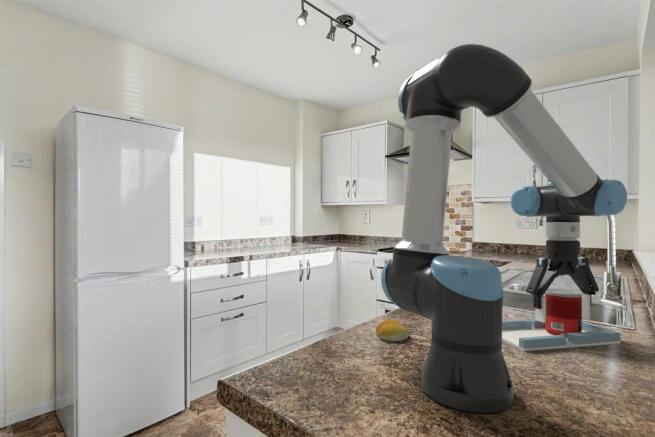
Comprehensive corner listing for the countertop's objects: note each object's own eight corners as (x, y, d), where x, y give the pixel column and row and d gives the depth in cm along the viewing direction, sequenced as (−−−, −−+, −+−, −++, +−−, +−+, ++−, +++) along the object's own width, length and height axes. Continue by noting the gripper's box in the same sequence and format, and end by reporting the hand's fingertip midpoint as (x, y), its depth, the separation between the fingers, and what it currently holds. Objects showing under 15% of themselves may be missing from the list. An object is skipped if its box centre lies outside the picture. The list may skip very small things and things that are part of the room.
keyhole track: (523, 351, 81) (523, 340, 81) (482, 331, 96) (482, 321, 96) (620, 343, 86) (620, 332, 86) (567, 325, 101) (567, 316, 101)
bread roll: (380, 343, 87) (380, 327, 87) (373, 331, 96) (373, 317, 96) (413, 342, 87) (413, 326, 87) (403, 331, 96) (403, 316, 96)
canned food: (587, 339, 87) (587, 295, 87) (552, 337, 89) (552, 294, 89) (573, 329, 95) (573, 289, 95) (540, 328, 96) (540, 288, 96)
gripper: (532, 240, 86) (532, 326, 86) (615, 239, 91) (616, 321, 91) (511, 238, 93) (511, 318, 93) (589, 238, 98) (589, 313, 98)
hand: (562, 319), depth 92 cm, fingers open, 13 cm apart
